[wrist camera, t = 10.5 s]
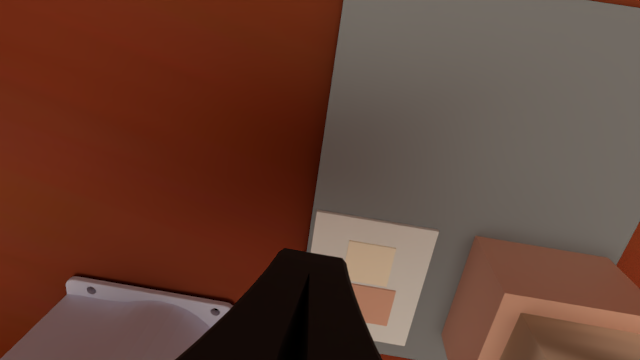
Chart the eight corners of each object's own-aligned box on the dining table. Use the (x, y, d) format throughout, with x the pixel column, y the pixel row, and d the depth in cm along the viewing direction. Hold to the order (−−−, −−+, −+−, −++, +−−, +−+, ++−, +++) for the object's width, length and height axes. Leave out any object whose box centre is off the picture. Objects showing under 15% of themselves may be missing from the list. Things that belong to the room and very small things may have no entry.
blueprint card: (299, 324, 21) (298, 329, 21) (317, 209, 18) (316, 212, 18) (404, 343, 21) (404, 347, 21) (438, 229, 18) (439, 232, 18)
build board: (296, 324, 22) (293, 338, 22) (349, -33, 15) (348, -36, 14) (545, 368, 22) (553, 383, 21) (720, 22, 15) (744, 23, 14)
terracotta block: (441, 334, 20) (459, 405, 17) (475, 235, 18) (504, 292, 14) (557, 354, 20) (601, 430, 17) (607, 257, 18) (672, 321, 14)
